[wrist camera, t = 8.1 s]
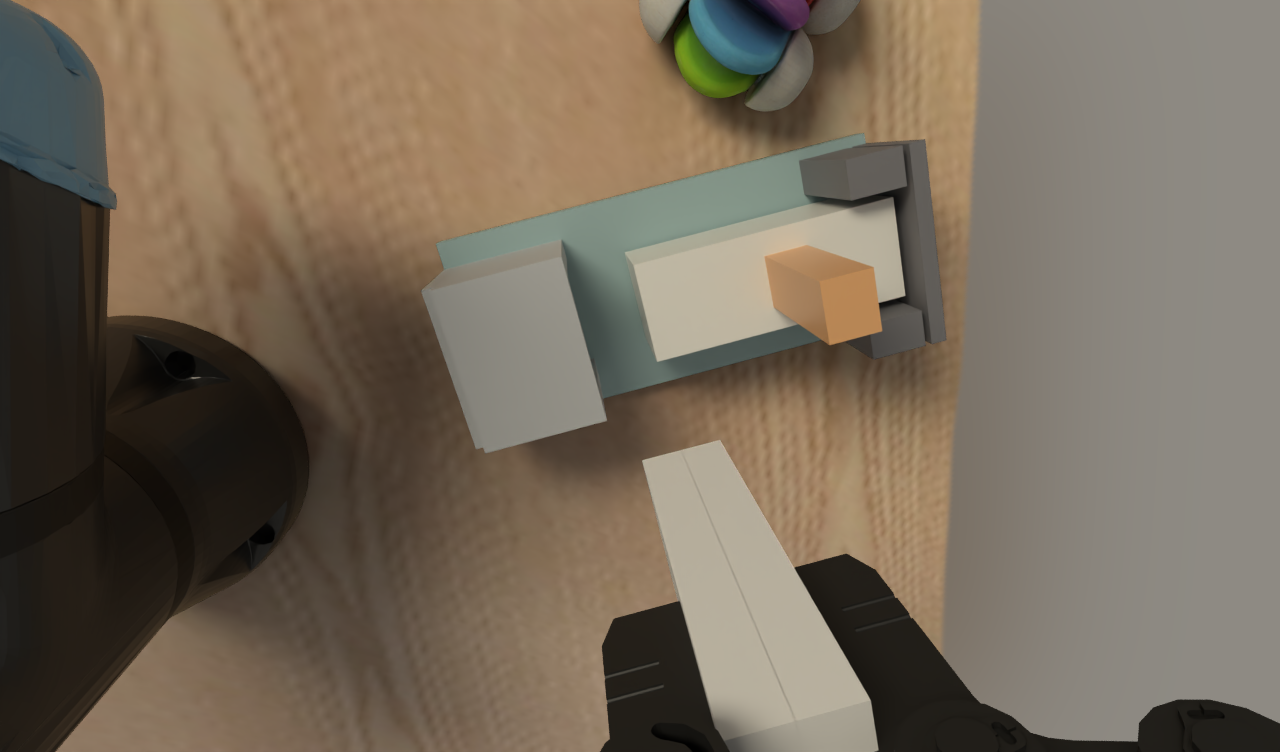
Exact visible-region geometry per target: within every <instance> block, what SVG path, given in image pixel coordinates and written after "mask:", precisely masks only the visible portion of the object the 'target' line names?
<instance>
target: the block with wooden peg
mask: <svg viewBox="0 0 1280 752" xmlns="http://www.w3.org/2000/svg"><path fill="white" fill-rule="evenodd" d="M624 253H625V257H626V261H627V265H628V269H629V273H630V277H631V281H632V285H633V289H634V293H635V297H636V301H637V305H638V309H639V313H640V317H641V321H642V325H643V329H644V333H645V337H646V340H647V342H648V344H649V346H650V348H651V350H652V352H653V354H654V356H655V358H656V360H657V362H659V361H662V360H666V359H670V358H674V357H678V356H681V355H685V354H689V353H693V352H696V351H700V350H704V349H708V348H711V347H715V346H719V345H723V344H726V343H730V342H734V341H738V340H741V339H745V338H749V337H753V336H756V335H760V334H764V333H768V332H771V331H775V330H779V329H783V328H786V327H790V326H794V325H798V324H799V325H801V326H802V327H804V328H805V329H807V330H808V331H809V332H811V333H812V334H814V335H815V336H817V337H818V338H820V339H821V340H823V341H824V342H826V343H827V344H829V345H832V344H836V343H840V342H844V341H847V340H851V339H855V338H859V337H862V336H866V335H870V334H874V333H877V332H881V331H882V325H881V317H880V310H879V303H880V302H884V301H888V300H891V299H895V298H899V297H903V296H905V289H904V280H903V272H902V264H901V256H900V248H899V240H898V232H897V224H896V215H895V207H894V199H893V197H887V196H877V195H871V196H867V197H863V198H859V199H856V200H852V201H850V200H842V199H834V198H831V199H827V200H823V201H819V202H816V203H812V204H808V205H804V206H800V207H796V208H793V209H789V210H785V211H781V212H777V213H773V214H770V215H766V216H762V217H758V218H754V219H751V220H747V221H743V222H739V223H735V224H731V225H728V226H724V227H720V228H716V229H712V230H708V231H705V232H701V233H697V234H693V235H689V236H685V237H682V238H678V239H674V240H670V241H666V242H662V243H659V244H655V245H651V246H647V247H643V248H639V249H636V250H632V251H628V252H624Z"/></svg>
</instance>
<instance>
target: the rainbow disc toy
mask: <svg viewBox="0 0 1280 752" xmlns="http://www.w3.org/2000/svg"><path fill="white" fill-rule="evenodd" d="M686 1H687V0H639V9H640V15H641V20H642V22H643V25H644V27H645V29H646V31H647V33H648V34H649V36H650V37H651V38H652V39H653V40H654V41H655V42H656V43H657V44H659V43H660V42H661V41H662V40H663V38H664V36H665V35H666V33H667V31H668V30H669V28H670V27H671V26H672V25H673V24H674V22H675V20H676V19H677V17H678V15H679V13H680V11H681V9H682V8H683V6H684V4H685V3H686ZM689 1H690V3H689V8H688V10H687V12H686V15H685V16H684V18H683V19H682V21H681V22H680V23H679V25H678V27H677V28H676V30H675V33H674V38H673V40H674V50H675V57H676V60H677V64H678V67H679V69H680V72H681V74H682V75H683V77H684V79H685V80H686V82H687V83H688V84H689V85H690V86H691V87H692V88H693V89H695V90H696V91H698V92H699V93H701V94H703V95H706V96H708V97H713V98H725V97H730V96H734V95H736V94H739V93H741V92H745V91H747V90H748V89H749V90H748V92H747V95H746V97H745V105H746V106H747V107H749V108H751V109H754V110H758V111H774V110H778V109H781V108H784V107H786V106H787V105H789V104H790V103H791V102H793V101H794V100H795V99H796V97H797V96H798V95H799V94H800V92H801V91H802V90H803V88H804V87H805V85H806V84H807V82H808V80H809V78H810V76H811V74H812V71H813V63H814V58H813V50H812V46H811V43H810V40H809V38H808V37H807V35H806V34H812V35H819V34H825V33H828V32H831V31H833V30H835V29H837V28H838V27H839V26H840V25H841V24H842V23H843V22H844V21H845V20H846V19H847V18H848V17H849V15H850V14H851V13H852V12H853V10H854V9H855V8H856V6H857V5H858V3H859V2H860V0H689Z"/></svg>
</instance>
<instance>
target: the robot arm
mask: <svg viewBox="0 0 1280 752" xmlns="http://www.w3.org/2000/svg"><path fill="white" fill-rule="evenodd" d="M116 205H117V199H116V194H115V193H114V192H113V191H112V190H111V188H110V187H109V183H108V170H107V157H106V141H105V116H104V97H103V91H102V86H101V82H100V79H99V76H98V74H97V72H96V70H95V68H94V66H93V64H92V63H91V61H90V60H89V59H88V57H87V56H86V54H85V53H84V52H83V50H82V49H81V48H80V47H79V45H78V44H77V43H76V42H75V41H74V40H73V39H72V38H71V37H70V36H68V35H67V34H66V33H65V32H63V31H62V30H61V29H59V28H58V27H57V26H56V25H54V24H53V23H51V22H50V21H48V20H47V19H45V18H44V17H42V16H40V15H39V14H37V13H35V12H33V11H31V10H29V9H27V8H25V7H23V6H21V5H19V4H17V3H15V2H13V1H11V0H0V752H56V751H57V749H58V748H59V747H60V746H61V745H62V744H63V742H64V741H65V740H66V739H67V738H68V737H69V735H70V734H71V733H72V732H73V731H74V729H75V728H76V727H77V726H78V725H79V724H80V722H81V721H82V720H83V719H84V718H85V717H86V715H87V714H88V713H89V712H90V711H91V710H92V708H93V707H94V706H95V705H96V704H97V703H98V701H99V700H100V699H101V698H102V697H103V695H104V694H105V693H106V692H107V691H108V690H109V688H110V687H111V686H112V685H113V684H114V683H115V681H116V680H117V679H118V678H119V677H120V676H121V674H122V673H123V672H124V671H125V670H126V669H127V667H128V666H129V665H130V664H131V663H132V661H133V660H134V659H135V658H136V657H137V656H138V654H139V653H140V652H141V651H142V650H143V649H144V647H145V646H146V645H147V644H148V643H149V642H150V640H151V639H152V638H153V637H154V636H155V635H156V633H157V632H158V631H159V629H160V628H161V627H162V626H163V625H164V624H165V623H166V621H167V620H168V619H169V618H170V617H172V616H174V615H176V614H178V613H180V612H182V611H184V610H185V609H187V608H189V607H191V606H193V605H195V604H197V603H199V602H201V601H203V600H205V599H206V598H208V597H210V596H212V595H214V594H216V593H218V592H220V591H222V590H224V589H225V588H227V587H229V586H231V585H233V584H235V583H236V582H238V581H239V580H241V579H242V578H244V577H245V576H247V575H248V574H249V573H251V572H252V571H253V570H254V569H255V568H257V567H258V566H259V565H260V564H261V563H262V562H263V561H264V560H265V559H266V558H267V557H268V556H269V555H270V554H271V553H272V551H273V550H274V549H275V547H276V546H277V545H278V543H279V542H280V541H281V539H282V538H283V537H284V535H285V534H286V533H287V531H288V530H289V529H290V527H291V526H292V524H293V523H294V521H295V519H296V517H297V515H298V514H299V511H300V509H301V507H302V504H303V501H304V498H305V494H306V490H307V484H308V475H309V460H308V451H307V445H306V441H305V437H304V433H303V430H302V427H301V425H300V422H299V419H298V417H297V415H296V413H295V411H294V409H293V407H292V406H291V404H290V402H289V400H288V399H287V397H286V396H285V394H284V393H283V391H282V390H281V389H280V388H279V386H278V385H277V384H276V382H275V381H274V380H273V379H272V378H271V377H270V376H269V375H268V374H267V373H266V372H265V371H264V370H263V369H262V368H261V367H260V366H259V365H258V364H257V363H256V362H255V361H253V360H252V359H251V358H250V357H248V356H247V355H246V354H244V353H243V352H242V351H240V350H239V349H237V348H236V347H234V346H233V345H231V344H229V343H228V342H226V341H224V340H222V339H221V338H219V337H217V336H215V335H212V334H210V333H208V332H206V331H203V330H201V329H199V328H196V327H193V326H190V325H187V324H184V323H180V322H176V321H172V320H167V319H162V318H156V317H148V316H113V317H107V297H108V262H109V227H110V209H115V210H116ZM642 462H643V466H644V470H645V474H646V478H647V482H648V486H649V490H650V494H651V498H652V502H653V506H654V510H655V514H656V517H657V521H658V525H659V529H660V533H661V537H662V541H663V545H664V549H665V553H666V557H667V561H668V565H669V569H670V573H671V577H672V581H673V584H674V588H675V592H676V596H677V599H678V602H674V603H670V604H667V605H663V606H659V607H656V608H652V609H648V610H644V611H641V612H637V613H633V614H630V615H626V616H622V617H618V618H615V619H613V622H612V624H611V626H610V629H609V631H608V633H607V636H606V638H605V640H604V643H603V645H602V653H603V665H604V675H605V688H606V699H607V703H608V704H607V711H608V722H609V733H610V739H609V740H608V741H607V742H606V743H605V744H604V746H603V748H602V749H601V751H600V752H1280V723H1277V722H1275V721H1273V720H1271V719H1269V718H1266V717H1264V716H1262V715H1260V714H1257V713H1255V712H1253V711H1251V710H1249V709H1247V708H1243V707H1239V706H1234V705H1230V704H1226V703H1222V702H1217V701H1213V700H1175V701H1172V702H1169V703H1166V704H1163V705H1160V706H1157V707H1154V708H1153V709H1152V710H1151V711H1150V712H1149V713H1148V714H1147V715H1146V716H1145V717H1144V718H1143V719H1142V720H1141V722H1140V723H1139V733H1138V742H1128V741H1073V740H1064V739H1054V738H1047V737H1044V736H1040V735H1037V734H1033V733H1030V732H1029V731H1028V730H1027V729H1026V728H1024V727H1023V726H1022V725H1021V724H1020V723H1019V722H1018V721H1016V720H1015V719H1014V718H1013V717H1012V716H1010V715H1008V714H1005V713H1003V712H1001V711H999V710H997V709H994V708H993V707H990V706H988V705H986V704H981V703H980V702H979V701H978V700H977V699H976V698H975V697H974V696H973V695H972V694H971V692H970V691H969V690H968V689H967V687H966V686H965V685H964V683H963V682H962V681H961V680H960V678H959V677H958V676H957V674H956V673H955V672H954V671H953V669H952V668H951V667H950V665H949V664H948V663H947V662H946V660H945V659H944V658H943V656H942V655H941V654H940V653H939V651H938V650H937V649H936V647H935V646H934V645H933V643H932V642H931V641H930V640H929V638H928V637H927V636H926V634H925V633H924V632H923V631H922V629H921V628H920V627H919V625H918V624H917V623H916V622H915V620H914V619H913V618H910V616H909V613H908V611H907V610H906V609H905V607H904V606H903V605H902V604H901V602H900V601H899V600H898V598H895V597H894V593H893V592H892V591H891V589H890V588H889V587H888V586H887V584H886V583H885V582H884V580H883V579H882V578H881V577H880V575H879V574H878V573H877V571H876V570H875V569H873V568H871V567H869V566H868V565H866V564H864V563H862V562H860V561H859V560H857V559H855V558H853V557H851V556H850V555H848V554H843V555H840V556H836V557H832V558H828V559H825V560H821V561H817V562H814V563H810V564H806V565H802V566H799V567H795V568H794V567H793V565H792V563H791V562H790V560H789V558H788V557H787V555H786V553H785V551H784V550H783V548H782V546H781V544H780V543H779V541H778V539H777V538H776V536H775V534H774V532H773V531H772V529H771V527H770V525H769V524H768V522H767V520H766V519H765V517H764V515H763V513H762V512H761V510H760V508H759V506H758V505H757V503H756V501H755V500H754V498H753V496H752V494H751V493H750V491H749V489H748V488H747V486H746V484H745V482H744V481H743V479H742V477H741V475H740V474H739V472H738V470H737V469H736V467H735V465H734V463H733V462H732V460H731V458H730V456H729V455H728V453H727V451H726V450H725V448H724V446H723V444H722V443H721V441H720V440H718V441H714V442H710V443H706V444H702V445H699V446H695V447H691V448H687V449H683V450H679V451H676V452H672V453H668V454H664V455H660V456H656V457H653V458H649V459H645V460H642Z"/></svg>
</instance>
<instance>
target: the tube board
mask: <svg viewBox="0 0 1280 752" xmlns="http://www.w3.org/2000/svg"><path fill="white" fill-rule="evenodd" d="M871 195H877V196H887V197H893V199H894V207H895V215H896V224H897V232H898V240H899V248H900V256H901V264H902V272H903V280H904V289H905V296H903V297H899V298H895V299H891V300H888V301H884V302H880V303H879V310H880V317H881V325H882V331H881V332H877V333H874V334H870V335H866V336H862V337H859V338H855V339H851V340H847V341H845V342H846V343H848V344H850V345H851V346H853V347H854V348H856V349H858V350H859V351H861V352H862V353H864V354H866V355H867V356H869V357H870V358H872V359H878V358H882V357H885V356H889V355H893V354H897V353H900V352H904V351H908V350H911V349H915V348H919V347H923V346H926V344H925V341H927V342H929V343H931V344H934V343H937V342H941V341H945V340H946V332H945V322H944V313H943V304H942V294H941V285H940V275H939V266H938V256H937V247H936V238H935V228H934V219H933V209H932V200H931V190H930V181H929V171H928V162H927V153H926V143H925V139H924V140H909V141H894V142H879V143H865V135H864V133H860V134H854V135H850V136H846V137H842V138H839V139H835V140H831V141H827V142H823V143H819V144H815V145H811V146H808V147H804V148H800V149H796V150H792V151H788V152H784V153H780V154H777V155H773V156H769V157H765V158H761V159H757V160H753V161H750V162H746V163H742V164H738V165H734V166H730V167H726V168H722V169H719V170H715V171H711V172H707V173H703V174H699V175H695V176H692V177H688V178H684V179H680V180H676V181H672V182H668V183H664V184H661V185H657V186H653V187H649V188H645V189H641V190H637V191H634V192H630V193H626V194H622V195H618V196H614V197H610V198H606V199H603V200H599V201H595V202H591V203H587V204H583V205H579V206H575V207H572V208H568V209H564V210H560V211H556V212H552V213H548V214H545V215H541V216H537V217H533V218H529V219H525V220H521V221H517V222H514V223H510V224H506V225H502V226H498V227H494V228H490V229H487V230H483V231H479V232H475V233H471V234H467V235H463V236H459V237H456V238H452V239H448V240H444V241H440V242H438V243H436V246H437V249H438V252H439V255H440V258H441V261H442V264H443V267H444V270H443V271H442V272H441V273H440V274H439V275H438V276H437V277H436V278H434V279H433V280H432V281H431V282H430V283H429V284H428V285H427V286H426V287H424V288H423V289H422V290H421V292H422V295H423V298H424V301H425V304H426V307H427V309H428V312H429V315H430V318H431V321H432V324H433V327H434V330H435V332H436V335H437V338H438V341H439V344H440V347H441V350H442V352H443V355H444V358H445V361H446V364H447V367H448V370H449V373H450V375H451V378H452V381H453V384H454V387H455V390H456V393H457V396H458V398H459V401H460V404H461V407H462V410H463V413H464V416H465V419H466V421H467V424H468V427H469V430H470V433H471V436H472V439H473V441H474V444H475V447H476V449H479V448H483V449H484V451H485V453H489V452H493V451H496V450H500V449H504V448H507V447H511V446H515V445H519V444H522V443H526V442H530V441H534V440H537V439H541V438H545V437H548V436H552V435H556V434H560V433H563V432H567V431H571V430H575V429H578V428H582V427H586V426H589V425H593V424H597V423H601V422H604V421H607V418H606V412H605V406H604V401H603V398H607V397H611V396H614V395H618V394H622V393H626V392H629V391H633V390H637V389H641V388H644V387H648V386H652V385H655V384H659V383H663V382H667V381H670V380H674V379H678V378H682V377H685V376H689V375H693V374H697V373H700V372H704V371H708V370H712V369H715V368H719V367H723V366H727V365H730V364H734V363H738V362H742V361H745V360H749V359H753V358H756V357H760V356H764V355H768V354H771V353H775V352H779V351H783V350H786V349H790V348H794V347H798V346H801V345H805V344H809V343H813V342H816V341H820V340H821V339H820V338H818V337H817V336H815V335H814V334H812V333H811V332H809V331H808V330H807V329H805V328H804V327H802V326H801V325H799V324H798V325H794V326H790V327H786V328H783V329H779V330H775V331H771V332H768V333H764V334H760V335H756V336H753V337H749V338H745V339H741V340H738V341H734V342H730V343H726V344H723V345H719V346H715V347H711V348H708V349H704V350H700V351H696V352H693V353H689V354H685V355H681V356H678V357H674V358H670V359H666V360H662V361H659V362H657V360H656V358H655V356H654V354H653V352H652V350H651V348H650V346H649V344H648V342H647V340H646V337H645V333H644V329H643V325H642V321H641V317H640V313H639V309H638V305H637V301H636V297H635V293H634V289H633V285H632V281H631V277H630V273H629V269H628V265H627V261H626V257H625V253H624V252H628V251H632V250H636V249H639V248H643V247H647V246H651V245H655V244H659V243H662V242H666V241H670V240H674V239H678V238H682V237H685V236H689V235H693V234H697V233H701V232H705V231H708V230H712V229H716V228H720V227H724V226H728V225H731V224H735V223H739V222H743V221H747V220H751V219H754V218H758V217H762V216H766V215H770V214H773V213H777V212H781V211H785V210H789V209H793V208H796V207H800V206H804V205H808V204H812V203H816V202H819V201H823V200H827V199H831V198H834V199H842V200H850V201H852V200H856V199H859V198H863V197H867V196H871Z"/></svg>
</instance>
